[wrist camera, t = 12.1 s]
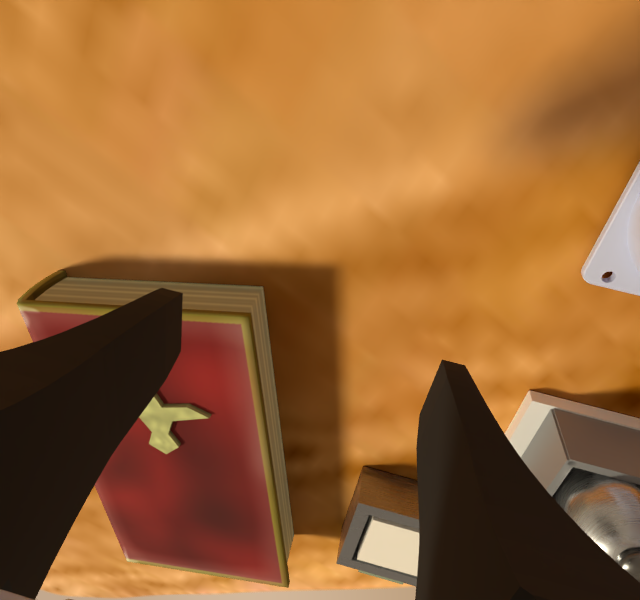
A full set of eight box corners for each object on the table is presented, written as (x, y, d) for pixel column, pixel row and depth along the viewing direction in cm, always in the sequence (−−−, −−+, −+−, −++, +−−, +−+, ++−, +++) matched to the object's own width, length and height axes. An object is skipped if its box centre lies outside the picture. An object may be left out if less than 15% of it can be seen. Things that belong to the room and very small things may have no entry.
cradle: (466, 494, 29) (470, 533, 27) (427, 565, 33) (427, 604, 31) (363, 466, 29) (358, 502, 27) (337, 539, 34) (331, 576, 32)
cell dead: (629, 444, 24) (710, 547, 18) (604, 501, 25) (672, 617, 19) (555, 428, 24) (611, 525, 18) (534, 486, 25) (579, 595, 19)
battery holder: (669, 426, 24) (709, 494, 21) (570, 546, 30) (589, 615, 26) (529, 389, 24) (546, 451, 21) (458, 515, 30) (463, 579, 27)
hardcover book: (148, 511, 37) (119, 564, 34) (61, 266, 26) (4, 306, 23) (301, 532, 35) (287, 592, 31) (272, 275, 24) (246, 321, 21)
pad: (444, 524, 28) (444, 540, 27) (423, 562, 31) (423, 578, 30) (374, 504, 29) (372, 519, 28) (358, 544, 31) (357, 559, 30)
